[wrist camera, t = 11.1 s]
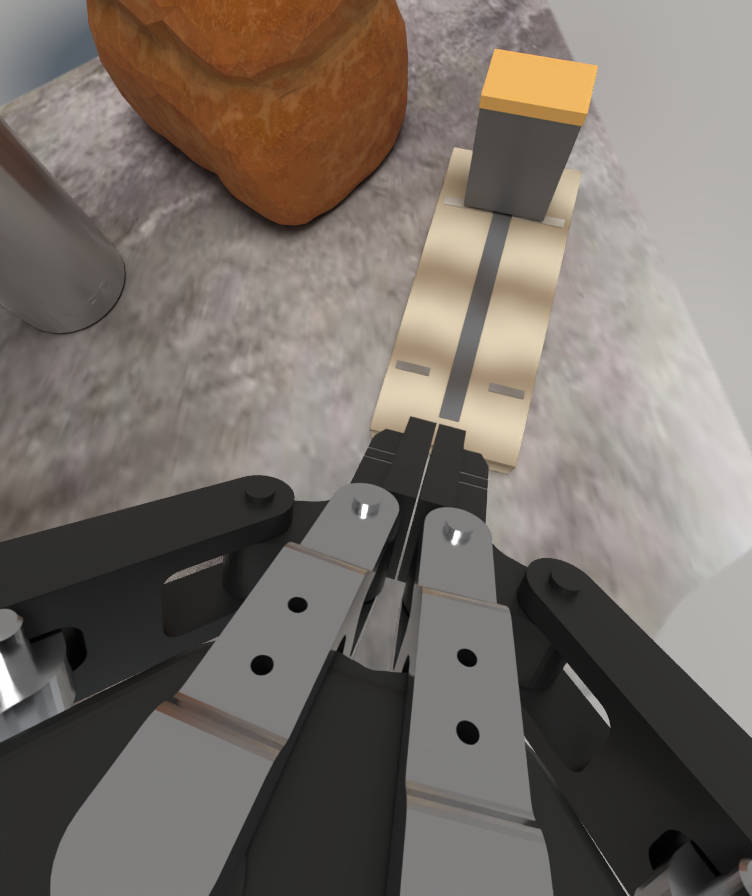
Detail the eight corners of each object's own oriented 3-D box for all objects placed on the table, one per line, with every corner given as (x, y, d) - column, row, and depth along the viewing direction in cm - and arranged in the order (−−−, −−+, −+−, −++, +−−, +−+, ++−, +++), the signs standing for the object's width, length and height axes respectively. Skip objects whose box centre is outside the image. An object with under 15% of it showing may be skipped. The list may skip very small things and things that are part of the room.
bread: (287, 261, 40) (210, 46, 24) (122, 124, 45) (-37, -135, 28) (430, 128, 43) (448, -146, 27) (261, 11, 47) (188, -285, 31)
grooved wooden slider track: (507, 474, 35) (516, 466, 32) (371, 438, 36) (369, 428, 34) (571, 195, 40) (582, 170, 38) (451, 172, 42) (454, 146, 39)
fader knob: (544, 221, 37) (587, 113, 28) (462, 205, 37) (481, 95, 29) (553, 182, 37) (598, 65, 29) (473, 166, 38) (494, 48, 30)
